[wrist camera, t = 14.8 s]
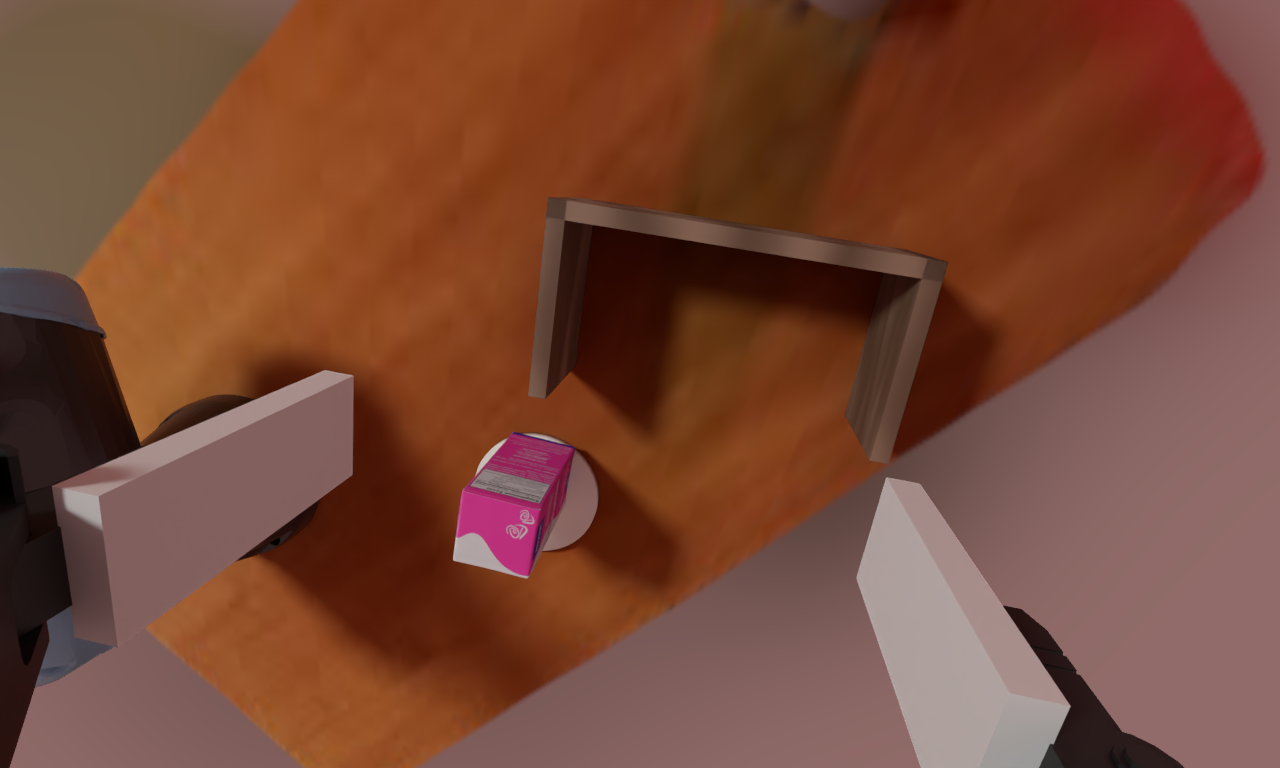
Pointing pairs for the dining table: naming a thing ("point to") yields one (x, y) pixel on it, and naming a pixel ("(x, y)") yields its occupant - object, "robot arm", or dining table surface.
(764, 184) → the dining table surface
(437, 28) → the dining table surface
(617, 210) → the cubby
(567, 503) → the pebble
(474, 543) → the supplement box
